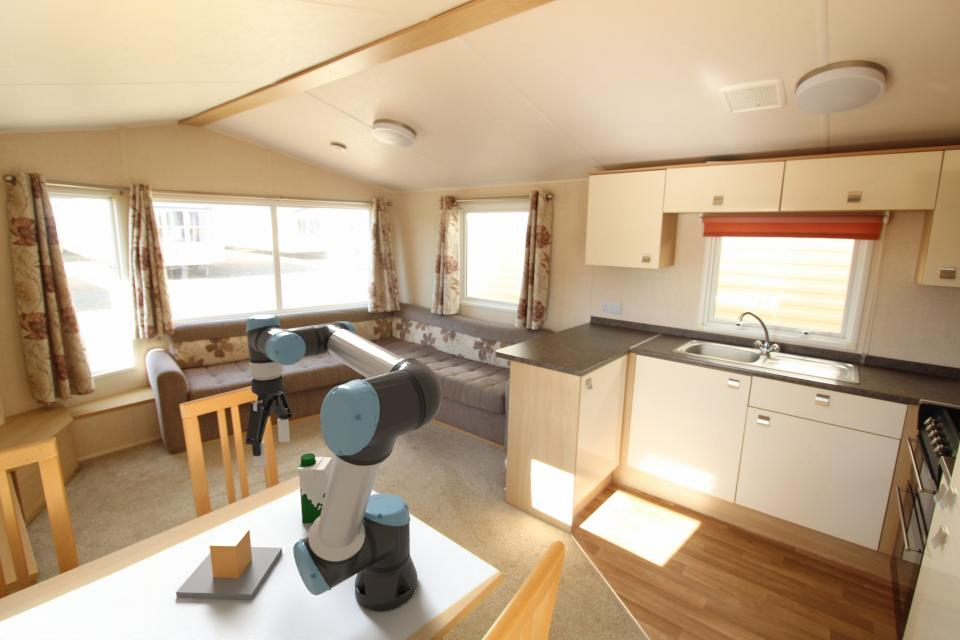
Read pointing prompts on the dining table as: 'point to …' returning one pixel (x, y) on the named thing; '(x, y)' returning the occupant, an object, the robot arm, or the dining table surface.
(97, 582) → the dining table surface
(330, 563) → the robot arm
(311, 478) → the milk carton
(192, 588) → the board
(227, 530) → the wooden toy block
